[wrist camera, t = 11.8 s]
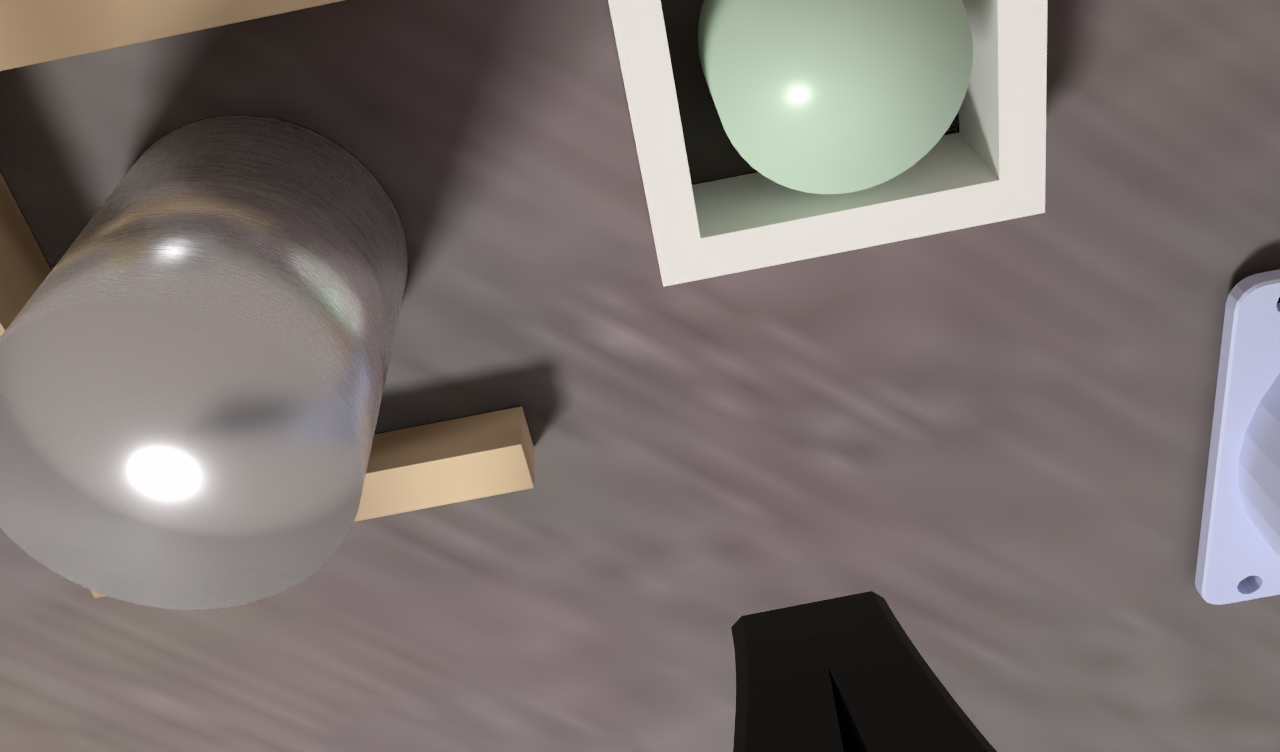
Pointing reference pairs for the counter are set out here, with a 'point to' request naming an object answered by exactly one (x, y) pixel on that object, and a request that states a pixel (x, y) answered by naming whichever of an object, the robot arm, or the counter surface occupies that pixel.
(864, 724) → the robot arm
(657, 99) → the button housing
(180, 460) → the cylinder
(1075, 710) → the counter surface
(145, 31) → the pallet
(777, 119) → the button
